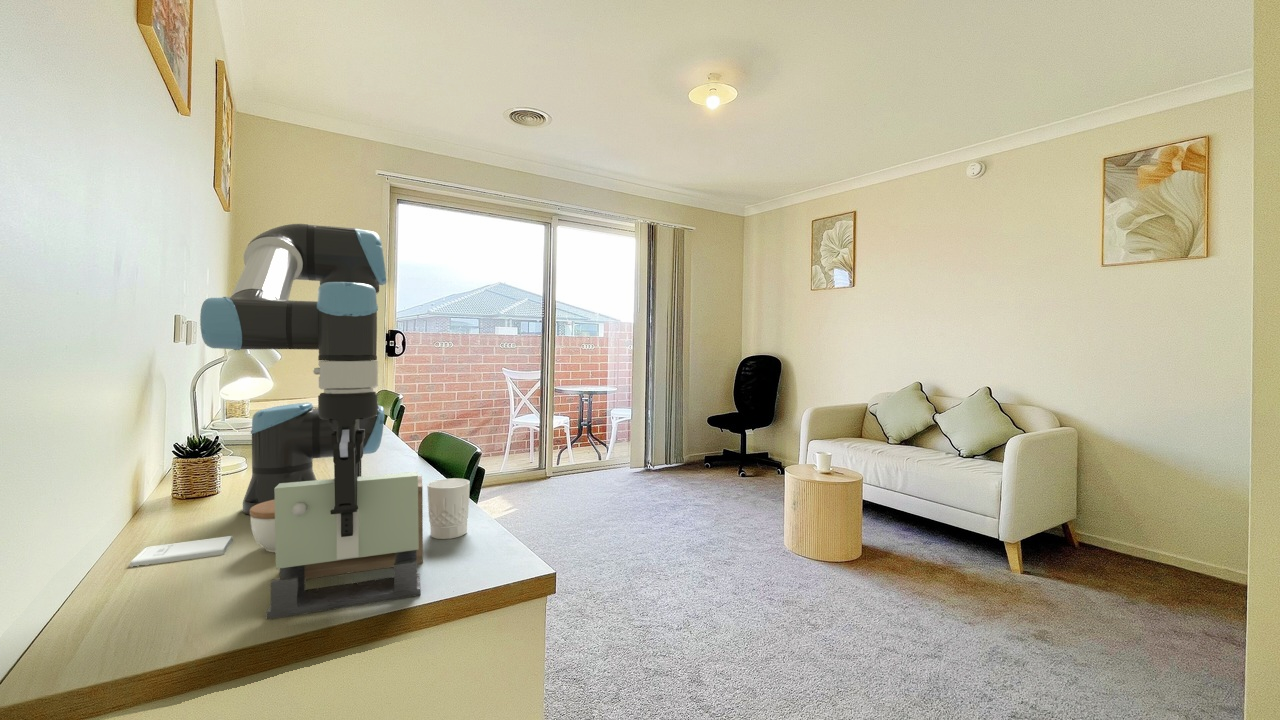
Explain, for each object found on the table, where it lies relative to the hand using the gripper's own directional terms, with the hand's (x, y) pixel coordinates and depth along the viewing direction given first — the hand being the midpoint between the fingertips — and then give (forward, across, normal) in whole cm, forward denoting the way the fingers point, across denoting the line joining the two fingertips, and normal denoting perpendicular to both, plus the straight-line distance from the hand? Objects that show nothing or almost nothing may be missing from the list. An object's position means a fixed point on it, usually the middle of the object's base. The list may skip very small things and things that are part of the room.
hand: (349, 552), depth 79 cm
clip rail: (+7, 0, 0) cm, 7 cm away
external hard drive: (+7, -31, -29) cm, 43 cm away
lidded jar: (+7, -28, -13) cm, 32 cm away
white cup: (+7, -24, +15) cm, 29 cm away
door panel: (0, 0, 0) cm, 1 cm away
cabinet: (+7, -14, 0) cm, 15 cm away
